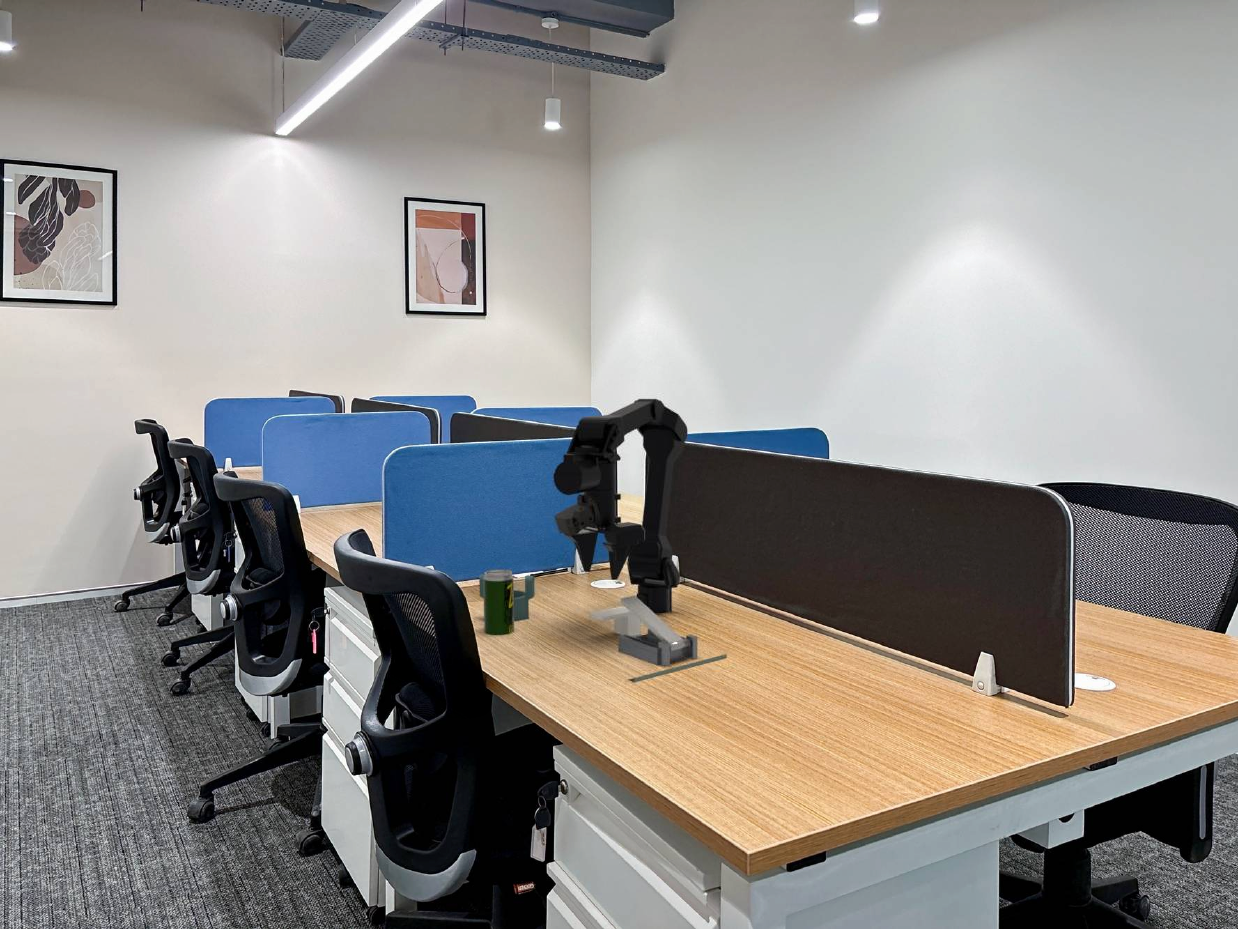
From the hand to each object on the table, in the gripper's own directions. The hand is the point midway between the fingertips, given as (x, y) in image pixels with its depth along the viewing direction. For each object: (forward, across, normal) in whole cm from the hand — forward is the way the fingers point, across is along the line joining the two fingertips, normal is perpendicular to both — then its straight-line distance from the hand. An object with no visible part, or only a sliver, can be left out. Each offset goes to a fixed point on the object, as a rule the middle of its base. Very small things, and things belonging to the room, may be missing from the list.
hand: (600, 575), depth 165 cm
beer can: (+12, -13, -13) cm, 22 cm away
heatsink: (+11, +16, 0) cm, 19 cm away
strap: (+6, +14, 0) cm, 15 cm away
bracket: (+12, -24, -5) cm, 27 cm away
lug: (+11, +2, +1) cm, 11 cm away
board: (+12, +9, 0) cm, 15 cm away
